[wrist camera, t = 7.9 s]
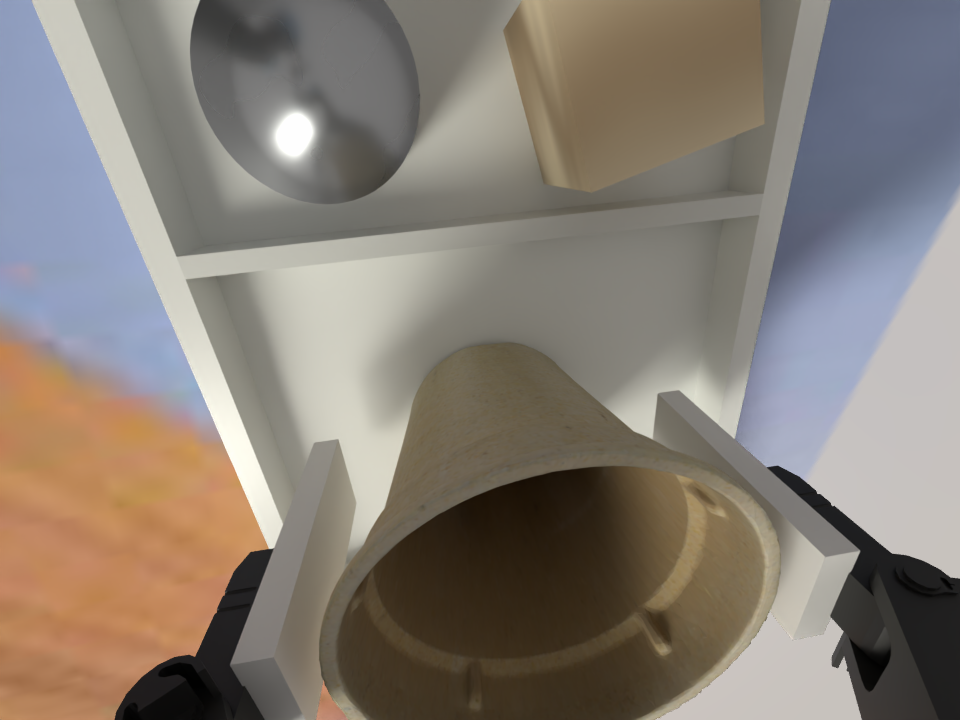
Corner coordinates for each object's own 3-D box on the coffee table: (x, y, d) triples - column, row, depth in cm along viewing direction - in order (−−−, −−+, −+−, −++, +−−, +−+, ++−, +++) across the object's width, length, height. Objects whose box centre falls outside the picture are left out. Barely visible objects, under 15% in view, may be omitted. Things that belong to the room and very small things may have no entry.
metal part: (225, 53, 10) (134, 6, 7) (372, -17, 10) (354, -99, 7) (314, 209, 12) (278, 235, 9) (439, 152, 12) (452, 157, 9)
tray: (66, -70, 10) (-24, -128, 8) (788, -106, 11) (867, -163, 9) (311, 571, 19) (299, 618, 17) (683, 509, 21) (711, 545, 19)
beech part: (503, 30, 11) (542, -33, 8) (645, -29, 11) (756, -123, 7) (543, 184, 13) (591, 192, 9) (667, 134, 13) (764, 124, 9)
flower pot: (653, 330, 16) (883, 498, 8) (560, 518, 19) (656, 762, 11) (400, 263, 13) (372, 403, 6) (349, 489, 17) (288, 768, 9)
